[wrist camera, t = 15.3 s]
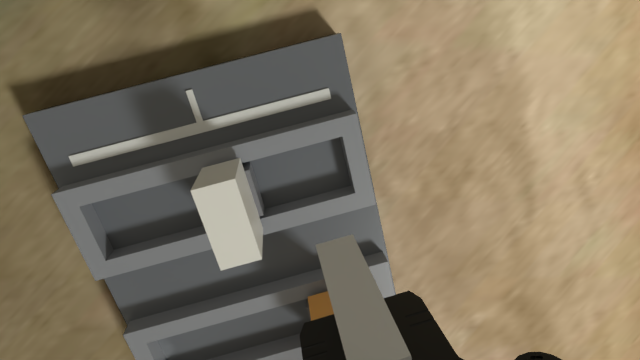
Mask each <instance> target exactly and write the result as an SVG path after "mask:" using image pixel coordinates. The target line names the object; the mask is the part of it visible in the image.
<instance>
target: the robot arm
mask: <svg viewBox="0 0 640 360" xmlns="http://www.w3.org/2000/svg"><path fill="white" fill-rule="evenodd" d="M316 249H317V253H318V256H319V260H320V264H321V268H322V271H323V275H324V279H325V282H326V286H327V290H328V293H329V297H330V301H331V305H332V308H333V312H334V314H332V315H329V316H326V317H322V318H319V319H315V320H312V321H309V322H305V323H304V325H303V328H302V330H301V333H300V335H299V336H300V343H301V349H302V350H301V351H302V358H303V360H463V359H461V358H459V357H458V355H457V354H456V353H455V351H454V350H453V348H452V347H451V345H450V343H449V342H448V340H447V339H446V337H445V335H444V334H443V332H442V331H441V329H440V327H439V326H438V324H437V323H436V321H435V320H434V318H433V316H432V315H431V313H430V312H429V311H428V308H427V307H426V305H425V304H424V302H423V300H422V299H421V298H420V297H418V296H417V295H415V294H414V293H412V292H410V291H407V292H403V293H400V294H396V295H393V296H390V297H386V298H383V296H382V294H381V292H380V290H379V288H378V286H377V284H376V282H375V280H374V277H373V275H372V273H371V271H370V269H369V267H368V265H367V263H366V261H365V259H364V257H363V255H362V252H361V250H360V248H359V246H358V244H357V242H356V240H355V238H354V236H353V234H352V235H349V236H345V237H342V238H338V239H335V240H331V241H328V242H324V243H321V244H317V245H316ZM515 360H561V359H559V358H558V357H556V356H554V355H551V354H547V353H543V352H528V353H525V354H522V355H519V356H518V357H517V358H516V359H515Z"/></svg>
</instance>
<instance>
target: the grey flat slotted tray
mask: <svg viewBox="0 0 640 360" xmlns="http://www.w3.org/2000/svg"><path fill="white" fill-rule="evenodd" d="M23 118H24V120H25V122H26V124H27V126H28V128H29V130H30V132H31V134H32V136H33V138H34V140H35V142H36V144H37V146H38V148H39V150H40V152H41V154H42V156H43V158H44V160H45V162H46V164H47V166H48V168H49V170H50V172H51V174H52V176H53V178H54V180H55V182H56V184H57V186H58V188H59V189H58V190H57V191H55V192H54V193H52V194H51V195H52V197H53V199H54V201H55V203H56V205H57V207H58V209H59V211H60V213H61V214H62V216H63V218H64V220H65V222H66V224H67V226H68V228H69V230H70V232H71V234H72V236H73V238H74V240H75V242H76V244H77V246H78V248H79V250H80V252H81V254H82V256H83V258H84V259H85V261H86V263H87V265H88V267H89V269H90V271H91V273H92V275H93V277H94V279H95V281H97V280H100V279H104V280H105V282H106V284H107V286H108V288H109V290H110V292H111V294H112V296H113V298H114V300H115V302H116V304H117V306H118V308H119V310H120V312H121V314H122V316H123V318H124V320H125V322H126V324H127V328H126V330H125V332H124V334H123V336H124V338H125V340H126V342H127V344H128V346H129V348H130V350H131V352H132V353H133V355H134V357H135V359H136V360H303V358H302V351H301V350H302V349H301V343H300V336H299V335H300V333H301V330H302V328H303V325H304V323H305V322H309V321H310V318H309V314H308V311H307V307H306V300H305V299H308V296H312V295H316V294H319V293H323V292H326V291H328V290H327V286H326V282H325V279H324V275H323V271H322V268H321V264H320V260H319V256H318V253H317V249H316V245H317V244H321V243H324V242H328V241H331V240H335V239H338V238H342V237H345V236H349V235H352V234H353V236H354V238H355V240H356V242H357V244H358V246H359V248H360V250H361V252H362V255H363V257H364V259H365V261H366V263H367V265H368V267H369V269H370V271H371V273H372V275H373V277H374V280H375V282H376V284H377V286H378V288H379V290H380V292H381V294H382V296H383V298H386V297H390V296H393V295H396V293H395V288H394V284H393V279H392V274H391V269H390V265H389V260H388V255H387V250H386V246H385V241H384V236H383V231H382V227H381V222H380V217H379V212H378V207H377V203H376V198H375V193H374V188H373V184H372V179H371V174H370V169H369V165H368V160H367V155H366V150H365V146H364V141H363V136H362V131H361V127H360V122H359V117H358V112H357V108H356V103H355V98H354V93H353V89H352V84H351V79H350V74H349V70H348V65H347V60H346V55H345V51H344V46H343V41H342V36H341V33H337V34H332V35H328V36H324V37H321V38H317V39H313V40H309V41H305V42H301V43H297V44H294V45H290V46H286V47H282V48H278V49H274V50H270V51H266V52H263V53H259V54H255V55H251V56H247V57H243V58H239V59H236V60H232V61H228V62H224V63H220V64H216V65H212V66H209V67H205V68H201V69H197V70H193V71H189V72H185V73H181V74H178V75H174V76H170V77H166V78H162V79H158V80H154V81H151V82H147V83H143V84H139V85H135V86H131V87H127V88H123V89H120V90H116V91H112V92H108V93H104V94H100V95H96V96H93V97H89V98H85V99H81V100H77V101H73V102H69V103H65V104H62V105H58V106H54V107H50V108H46V109H42V110H39V111H35V112H32V113H29V114H26V115H23ZM237 158H240V159H241V162H242V164H244V163H248V162H251V165H252V168H253V172H254V175H255V178H256V181H257V184H258V187H259V191H260V194H261V197H262V200H263V203H264V215H263V216H259V218H260V221H261V224H262V227H263V247H262V260H258V261H254V262H251V263H247V264H243V265H240V266H236V267H232V268H229V269H225V270H222V271H221V270H220V267H219V265H218V262H217V260H216V257H215V254H214V252H213V249H212V246H211V244H210V241H209V238H208V236H207V233H206V231H205V228H204V225H203V223H202V220H201V217H200V215H199V212H198V210H197V207H196V204H195V202H194V199H193V196H192V194H191V191H190V190H191V188H192V186H193V184H194V183H195V181H196V179H197V177H198V175H199V173H200V171H201V169H202V168H204V167H207V166H211V165H215V164H219V163H222V162H226V161H230V160H234V159H237Z"/></svg>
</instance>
